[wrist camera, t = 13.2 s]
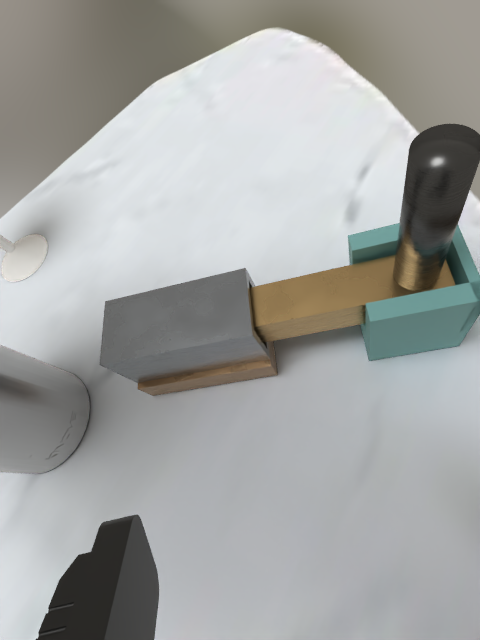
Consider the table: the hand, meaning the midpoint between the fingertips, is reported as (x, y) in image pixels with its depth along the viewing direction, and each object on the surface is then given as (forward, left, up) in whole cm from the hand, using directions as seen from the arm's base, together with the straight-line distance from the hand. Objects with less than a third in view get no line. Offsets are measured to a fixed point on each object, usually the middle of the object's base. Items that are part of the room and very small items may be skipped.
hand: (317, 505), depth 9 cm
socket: (0, +14, -19) cm, 23 cm away
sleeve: (-14, +6, -19) cm, 24 cm away
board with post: (-5, +11, -15) cm, 20 cm away
